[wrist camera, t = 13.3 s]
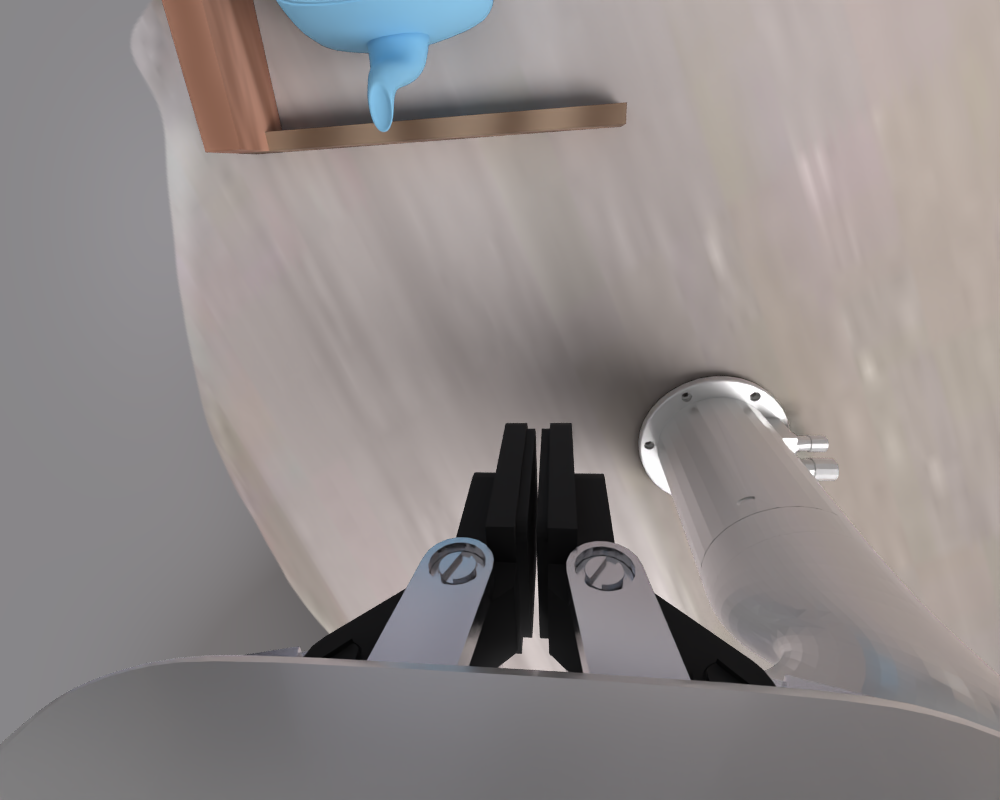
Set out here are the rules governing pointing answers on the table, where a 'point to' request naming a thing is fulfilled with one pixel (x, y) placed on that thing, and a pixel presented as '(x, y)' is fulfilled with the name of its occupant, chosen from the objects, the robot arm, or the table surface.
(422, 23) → the teapot
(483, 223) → the table surface
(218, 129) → the guide track
